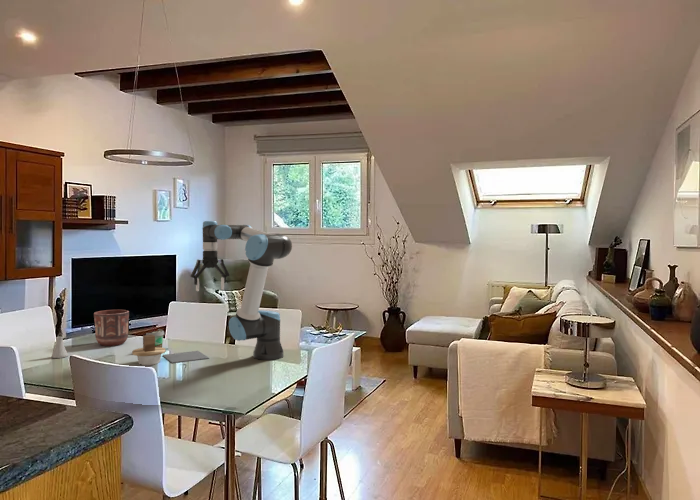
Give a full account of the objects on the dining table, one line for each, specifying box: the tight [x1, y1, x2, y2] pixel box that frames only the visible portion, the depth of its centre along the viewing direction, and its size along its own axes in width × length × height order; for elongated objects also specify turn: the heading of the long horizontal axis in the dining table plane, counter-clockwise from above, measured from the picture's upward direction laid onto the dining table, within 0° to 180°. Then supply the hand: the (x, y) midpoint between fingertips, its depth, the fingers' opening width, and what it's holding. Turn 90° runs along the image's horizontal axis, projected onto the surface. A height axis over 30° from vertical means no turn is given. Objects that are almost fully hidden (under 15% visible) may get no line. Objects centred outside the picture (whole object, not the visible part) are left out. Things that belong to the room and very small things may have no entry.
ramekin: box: [136, 354, 162, 366], centre depth 259 cm, size 11×11×5 cm
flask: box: [51, 336, 69, 359], centre depth 270 cm, size 7×7×10 cm
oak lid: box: [131, 334, 167, 357], centre depth 259 cm, size 15×15×8 cm
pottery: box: [93, 309, 130, 347], centre depth 300 cm, size 18×18×18 cm
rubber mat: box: [162, 350, 210, 364], centre depth 271 cm, size 18×18×1 cm
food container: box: [145, 328, 165, 348], centre depth 286 cm, size 12×6×10 cm, turn 168°
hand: (210, 290), depth 287 cm, fingers open, 13 cm apart
